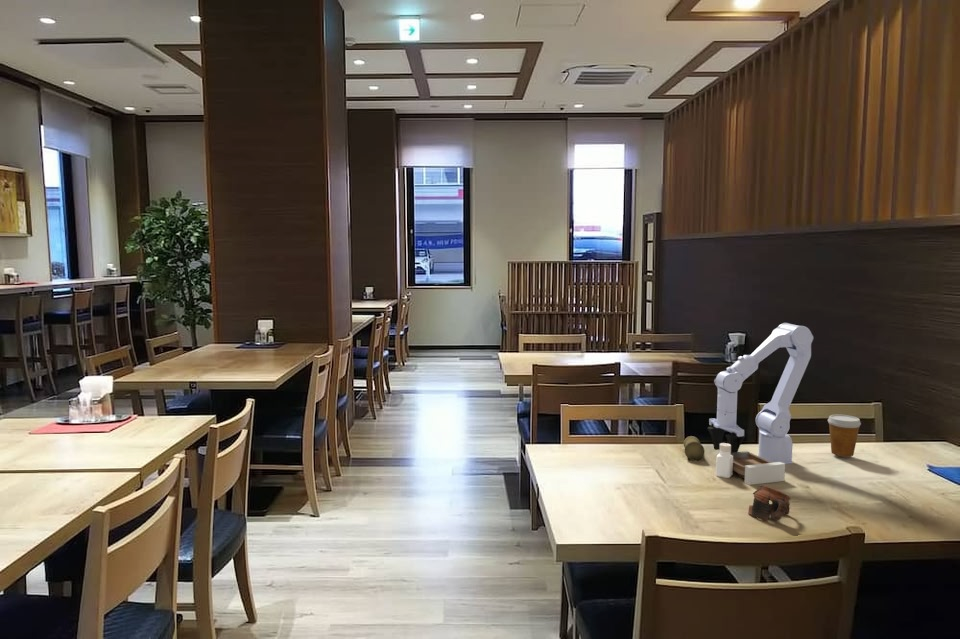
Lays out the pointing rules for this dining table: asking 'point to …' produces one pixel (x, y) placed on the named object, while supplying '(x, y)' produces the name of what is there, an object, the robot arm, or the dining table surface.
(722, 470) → the pepper shaker
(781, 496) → the pottery mug
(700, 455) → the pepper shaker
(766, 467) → the block
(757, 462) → the brown wooden square tray
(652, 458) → the dining table surface
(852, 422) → the disposable coffee cup
